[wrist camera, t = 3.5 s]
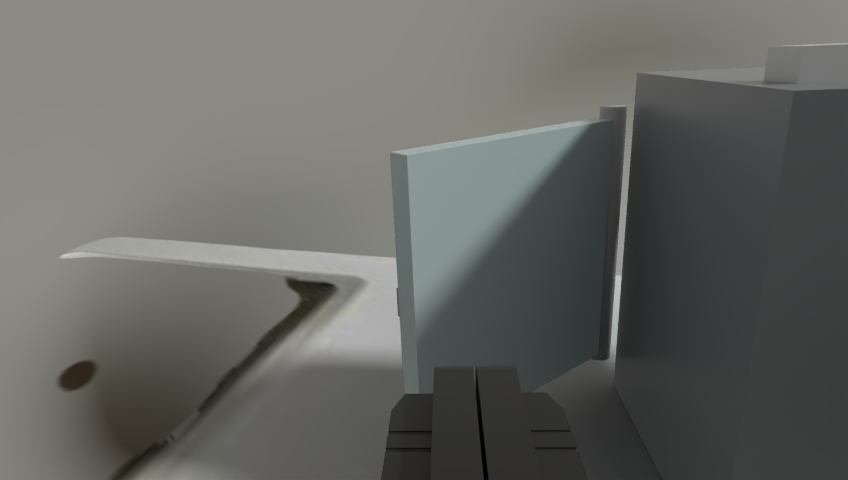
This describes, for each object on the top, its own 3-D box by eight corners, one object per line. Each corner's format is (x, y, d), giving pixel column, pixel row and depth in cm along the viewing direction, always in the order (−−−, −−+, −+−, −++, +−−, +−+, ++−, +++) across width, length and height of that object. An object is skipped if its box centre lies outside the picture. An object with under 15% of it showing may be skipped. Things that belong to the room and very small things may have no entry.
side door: (614, 354, 30) (632, 106, 26) (423, 464, 23) (407, 140, 19) (588, 343, 32) (602, 104, 27) (400, 443, 24) (380, 136, 20)
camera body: (777, 354, 32) (833, 39, 27) (1028, 583, 19) (1244, 29, 13) (600, 357, 33) (621, 48, 28) (715, 583, 19) (800, 47, 14)
